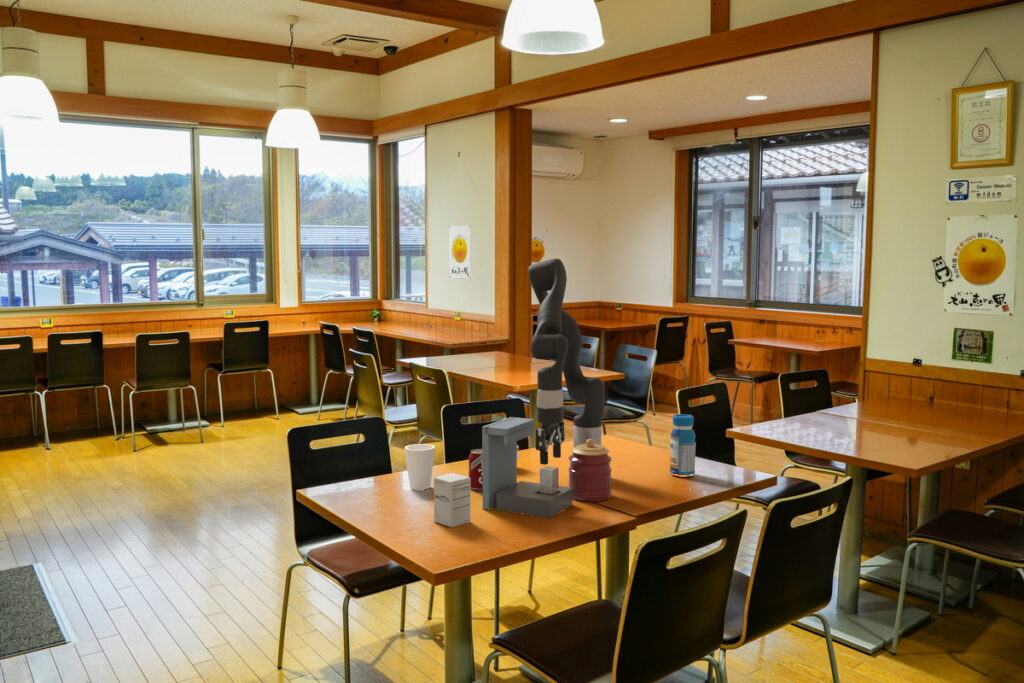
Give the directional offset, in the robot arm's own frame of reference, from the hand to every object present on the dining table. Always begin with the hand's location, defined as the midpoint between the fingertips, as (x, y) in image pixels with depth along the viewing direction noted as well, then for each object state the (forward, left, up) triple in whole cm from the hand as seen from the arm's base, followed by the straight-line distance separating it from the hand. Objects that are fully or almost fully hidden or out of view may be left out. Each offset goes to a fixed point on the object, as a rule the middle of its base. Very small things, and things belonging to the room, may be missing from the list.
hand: (550, 460), depth 238 cm
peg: (0, -1, -14) cm, 14 cm away
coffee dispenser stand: (0, -13, -14) cm, 20 cm away
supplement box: (+23, -18, -15) cm, 33 cm away
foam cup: (-2, -46, -14) cm, 49 cm away
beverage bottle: (-56, +22, -14) cm, 62 cm away
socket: (0, -5, -14) cm, 15 cm away
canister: (-18, +5, -14) cm, 23 cm away
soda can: (-10, -29, -14) cm, 34 cm away
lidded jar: (-36, -35, -15) cm, 52 cm away
